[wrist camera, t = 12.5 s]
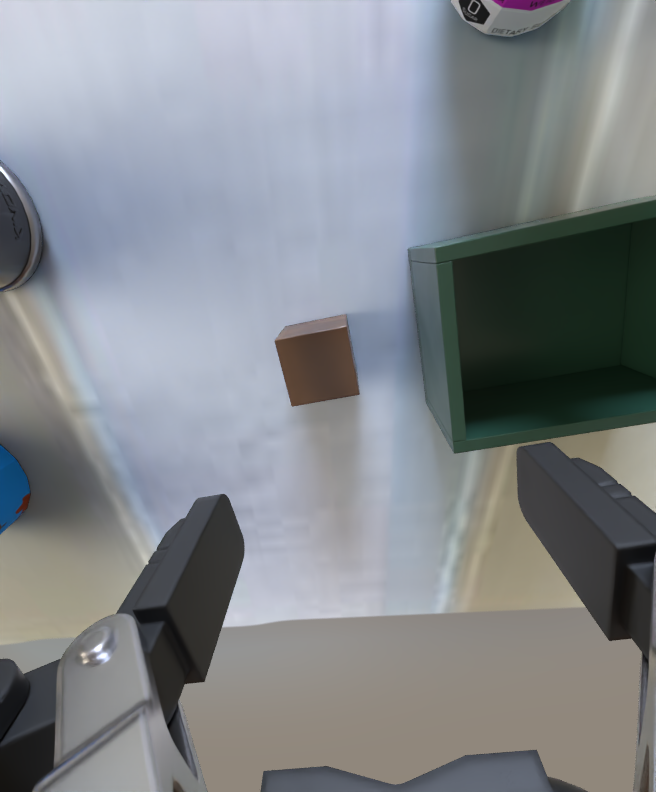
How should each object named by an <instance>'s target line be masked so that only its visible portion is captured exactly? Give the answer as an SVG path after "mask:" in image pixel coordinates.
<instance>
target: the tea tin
mask: <svg viewBox="0 0 656 792" xmlns="http://www.w3.org/2000/svg"><path fill="white" fill-rule="evenodd" d="M408 254H409V262H410V271H411V279H412V288H413V296H414V304H415V313H416V321H417V329H418V338H419V346H420V355H421V363H422V371H423V380H424V388H425V397H426V403H427V405H428V407H429V409H430V411H431V413H432V414H433V416H434V418H435V420H436V422H437V424H438V425H439V427H440V429H441V431H442V433H443V434H444V436H445V438H446V440H447V442H448V443H449V445H450V447H451V449H452V451H453V452H454V453H461V452H468V451H474V450H481V449H487V448H494V447H500V446H506V445H513V444H519V443H526V442H532V441H538V440H545V439H551V438H558V437H564V436H570V435H577V434H583V433H590V432H596V431H603V430H609V429H615V428H622V427H628V426H635V425H641V424H647V423H654V422H656V195H655V196H649V197H644V198H638V199H633V200H629V201H624V202H620V203H615V204H610V205H606V206H601V207H597V208H592V209H587V210H583V211H578V212H574V213H569V214H564V215H560V216H555V217H551V218H546V219H541V220H537V221H532V222H528V223H523V224H518V225H514V226H509V227H505V228H500V229H495V230H491V231H486V232H481V233H477V234H472V235H468V236H463V237H458V238H454V239H449V240H445V241H440V242H435V243H431V244H426V245H422V246H417V247H412V248H409V249H408Z"/></svg>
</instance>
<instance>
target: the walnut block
mask: <svg viewBox="0 0 656 792" xmlns="http://www.w3.org/2000/svg"><path fill="white" fill-rule="evenodd" d="M275 344H276V348H277V352H278V356H279V360H280V363H281V367H282V371H283V375H284V379H285V383H286V386H287V390H288V394H289V398H290V402H291V406H298V405H304V404H309V403H315V402H320V401H326V400H332V399H337V398H343V397H349V396H354V395H359V394H360V393H359V385H358V377H357V370H356V365H355V359H354V354H353V349H352V343H351V338H350V332H349V327H348V322H347V316H346V314H344V315H340V316H335V317H330V318H325V319H320V320H315V321H310V322H305V323H300V324H295V325H290V326H285V328H284V329H283V330H282V331H281V333H280V334H279V335H278V337H277V338H276V339H275Z"/></svg>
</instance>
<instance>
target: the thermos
mask: <svg viewBox="0 0 656 792" xmlns="http://www.w3.org/2000/svg"><path fill="white" fill-rule="evenodd" d="M30 494H31V493H30V488H29V484H28V479H27V476H26V474H25V473H24V471H23V469H22V468H21V466H20V465H19V463H18V461H17V460H16V459H15V458H14V457H13V456H12V455H11V454H10V453H9V452H8V451H7V450H6V449H5V448H3V447H2V446H1V445H0V534H1V533H2V532H3V531H4V530H6V529H7V528H8V527H9V526H10V525H11V524H12V523H13V522H14V521H15V520H16V519H18V517H19V516H20V515H21V514H22V513H23V512H24V511H25V510H26V509H27V507H28V503H29V499H30Z"/></svg>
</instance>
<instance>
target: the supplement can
mask: <svg viewBox="0 0 656 792" xmlns="http://www.w3.org/2000/svg"><path fill="white" fill-rule="evenodd" d="M450 1H451V2H452V4H453V5H454V7H455V8H456V10H457V12H458V13H459V15H460V16H461V18H462V19H463V20H464V21H466V22H467V23H469V24H470V25H472V26H473V27H475V28H476V29H478V30H480V31H481V32H483V33H484V34H489V35H497V36H506V37H513V36H516V35H519V34H522V33H525V32H528V31H532V30H535V29H538V28H539V27H540V26H542V25H543V24H544V23H546V22H547V21H548V20H550V19H551V18H552V17H553V16H555V15H556V14H557V13H559V12H560V11H561V10H563V9H564V8H565V7H566V6H567V4H568V3H569V2H570V1H571V0H450Z"/></svg>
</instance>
